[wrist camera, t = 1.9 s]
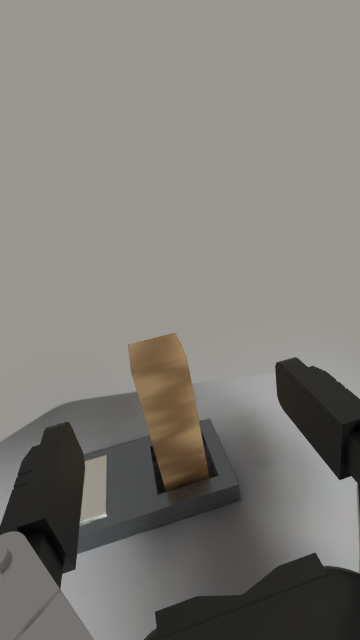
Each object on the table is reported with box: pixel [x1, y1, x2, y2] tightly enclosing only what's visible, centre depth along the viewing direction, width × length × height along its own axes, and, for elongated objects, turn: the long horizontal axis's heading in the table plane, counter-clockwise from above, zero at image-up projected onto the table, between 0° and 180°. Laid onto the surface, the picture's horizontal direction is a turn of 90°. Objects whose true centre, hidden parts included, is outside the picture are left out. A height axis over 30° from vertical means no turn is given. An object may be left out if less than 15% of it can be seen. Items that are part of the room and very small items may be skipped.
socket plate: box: [77, 419, 241, 554], centre depth 28 cm, size 18×8×2 cm, turn 102°
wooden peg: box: [128, 333, 210, 492], centre depth 26 cm, size 4×4×14 cm
